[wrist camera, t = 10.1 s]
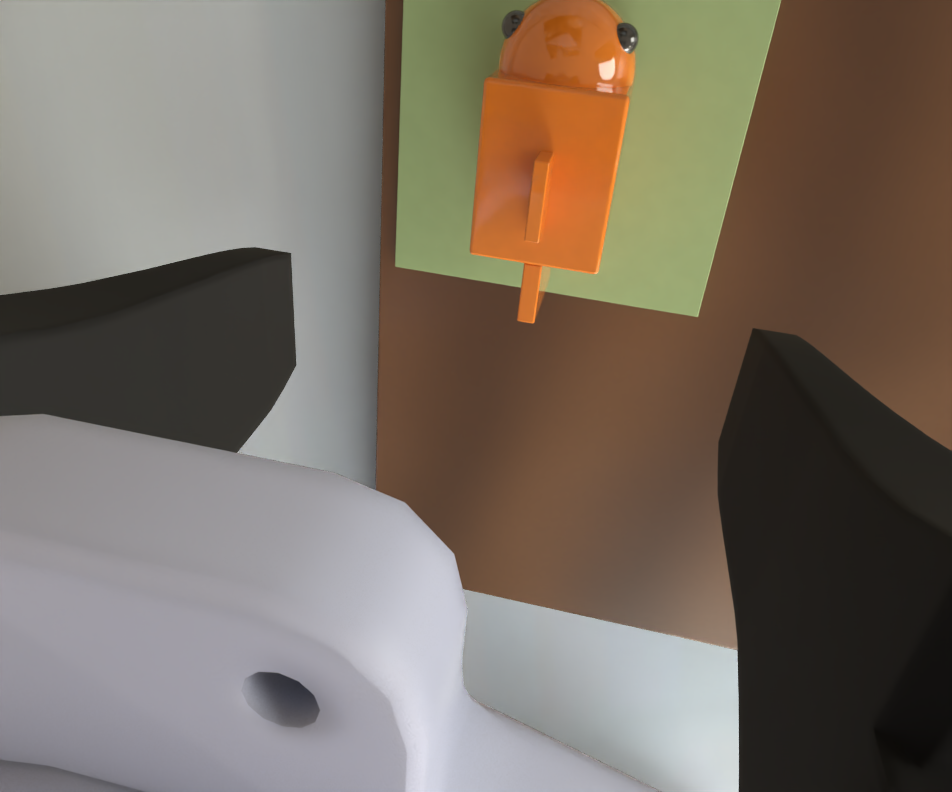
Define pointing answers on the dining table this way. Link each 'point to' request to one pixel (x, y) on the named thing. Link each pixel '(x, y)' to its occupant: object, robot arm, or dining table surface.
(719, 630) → the board
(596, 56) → the goldfish
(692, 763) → the dining table surface
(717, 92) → the corner pad
